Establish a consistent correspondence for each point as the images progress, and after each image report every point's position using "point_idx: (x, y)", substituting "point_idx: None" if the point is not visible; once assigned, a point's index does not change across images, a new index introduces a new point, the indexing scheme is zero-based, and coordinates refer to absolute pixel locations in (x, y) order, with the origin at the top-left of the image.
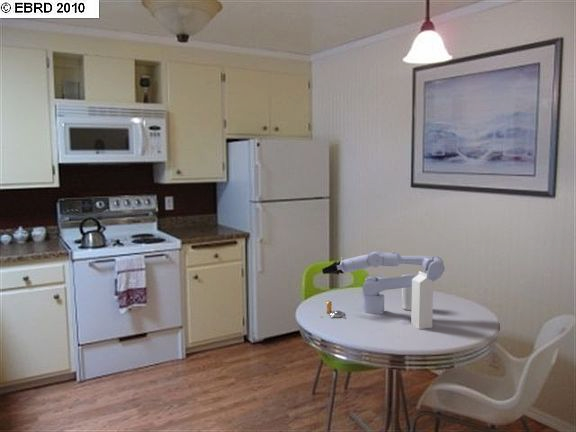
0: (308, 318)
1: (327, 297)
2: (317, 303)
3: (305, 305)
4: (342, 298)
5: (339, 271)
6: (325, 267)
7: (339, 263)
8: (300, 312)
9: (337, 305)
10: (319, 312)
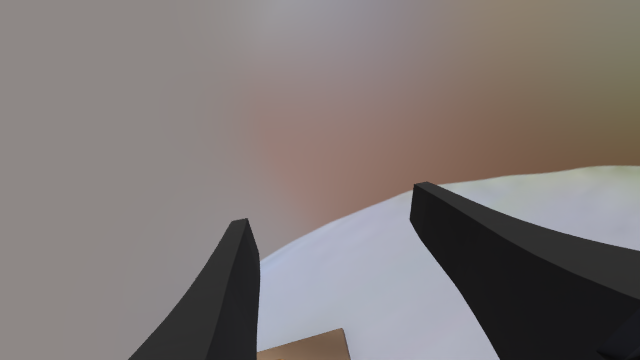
0: None
1: (542, 215)
2: None
3: (377, 209)
4: None
5: (511, 358)
6: (216, 248)
7: (610, 324)
8: (297, 240)
9: None
10: (330, 302)
